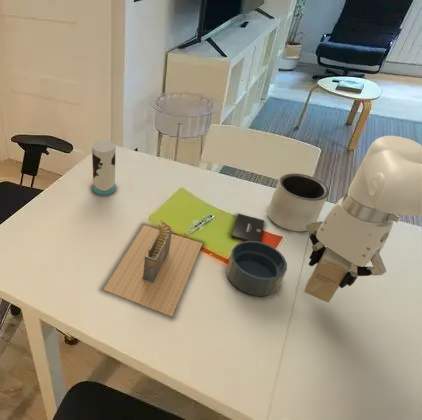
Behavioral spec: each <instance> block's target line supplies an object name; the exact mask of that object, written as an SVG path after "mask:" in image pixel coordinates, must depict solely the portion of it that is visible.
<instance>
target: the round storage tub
mask: <svg viewBox="0 0 422 420" xmlns="http://www.w3.org/2000/svg"><path fill="white" fill-rule="evenodd" d="M287 270H288V263H287V260H286V258H285V256H284V255H283V254H282V253H281V252H280V250H278V249H276V248H275V247H274V246H272V245H271V244H268V243H265V242H262V241H259V242H258V241H246V240H245V241H241V242H239V243H237V244H235V245H234V247H233V248H232V249H231V252H230V255H229V258H228V262H227V266H226V270H225V272H226V275H227V278H228V280H229V281H230V283H231V284H232V285H233V286H234V287H236V288H237V289H238V290H240V291H241V292H244V293H245V294H249V295H252V296H258V297H259V296H260V297H265V296H270V295H272V294H274V293H275V292H276V291H278V289H279V287H280V285H281V284H282V281H283V279H284V277H285V275H286V273H287Z"/></svg>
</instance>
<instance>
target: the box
mask: <svg viewBox="0 0 422 420" xmlns="http://www.w3.org/2000/svg"><path fill="white" fill-rule="evenodd" d="M325 247H326V246H325ZM315 265H316V266H315V267H314V269H313V271H312V272H311V274H310V276H309V278H308V279H307V282H306V285H305V288H304V290H303V291H304V293H305V294H307V295H309V296H312V297H314V298H316V299H318V300H320V301H323V302H326V303H330V301H331V299H332V298H333V297H334V295H335V293H336V292H337V290H338V289H339V288H340V287H339V284H340V283H341V281H342V279H343V278H344V276H345V275H346V273H347V272H349V271H350V261H348V260H346V259H345V258H343V257H342V256H340V255H339V254H337V253H336V252H334V251H332V250H331V249H329V248H328V247H326V249H325V251H324V253H323V254H322V256H321V258H320V260H319V262H318V263H317V264H315Z"/></svg>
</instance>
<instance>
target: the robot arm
mask: <svg viewBox="0 0 422 420" xmlns="http://www.w3.org/2000/svg"><path fill="white" fill-rule="evenodd" d="M349 185H350V186H349V187H348V189H347V191H346V193H345V195H344V196H343V197H341V198H340V199H339V200H337V202H336V203H335V204H334V205H333V206H332V208H331V209H330V210H329V212H328V213H327V215H326V216H325V217H324V219H323V221H316V223H310V224H309V225H307V226H306V228H307V230H306V231H307V233H308V234H309V239H310V242H311V244H312V246H311V249H312V252H311V254H310V256H309V259H310V260H309V262H308V266H309V267H314V266H315V265H317V263H318V262H319V260H320V258H321V256H322V254H323V253H324V251H325V249H326V247H328V248H329V249H331V250H332V251H334V252H336V253H337V254H339V255H340V256H342V257H343V258H345V259H346V260H348V261H350V270H349V272H347V273H346V275H345V276H344V278H343V279H342V281H341V283H340V284H339V287H338V288H341V289H343V288H345V287H346V286H348V287H351V286H352V285H353V284H354V283H355V282H356V280H357V279H358V277H369V276H382V275H384V274H385V273H387V268H386V266H385V264H384V261H383V259H382V256H381V254H380V253H381V252H382V250H383V248H384V247H385V244H386V242H387V241H388V238H389V236H390V233H391V231H392V228H393V226H394V225H393V224H394V222H395V223H399V222H400V220H401V219H402V218H403V216H411V217H412V216H414V217H416V216H417V217H422V144H420V143H419V142H417V141H415V140H413V139H410V138H406V137H403V136H398V135H384V136H379V137H378V138H376V139H374V141H372V143H371V144H370V145H369V147H368V150H367V151H366V153H365V155H364V157H363V159H362V161H361V163H360V165H359V166H358V169H357V171H356V173H355V175H354V178H353V179H352V181H351V183H350V184H349ZM370 262H371V265H372V266H366V265H367V264H368V263H370Z"/></svg>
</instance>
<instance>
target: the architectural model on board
mask: <svg viewBox="0 0 422 420" xmlns="http://www.w3.org/2000/svg"><path fill="white" fill-rule="evenodd" d="M157 227H158V228H154V227H151V226H149V225H146V224H143V226H142V227H141V229H140V231H139V232H138V233H137V235H136V237H135V238H134V240H133V242H132V243H131V245H130V246H129V248H128V250H126V253H125V254H124V256H123V258H122V259H121V261H120V262H119V264H118V266H117V267H116V269H115V270H114V272H113V274H112V276H111V277H110V278H109V280H108V282H107V283H106V285H105V286H104V288H103V291H106V292H107V293H108V292H109V293H111V294H113V295H115V296H118V297H121V298H123V299H126V300H129V301H131V302H134V303H136V304H138V305H141V306H144V307H146V308H149V309H151V310H154V311H156V312H159V313H161V314H163V315H164V314H165V315H167V316H169V317H173V316H174V314H175V311H176V308H177V306H178V304H179V301H180V299H181V296H182V294H183V291H184V290H185V286H186V284H187V282H188V279H189V277H190V275H191V273H192V270H193V267H194V265H195V263H196V260H197V258H198V255H199V253H200V250H201V248H202V246H203V243H202V242H200V241H197V240H193V239H190V238H187V237H184V236H181V235H177V234H175V233H173V229H172V226H170V225H169V224H167V223H165V222H164V221H163V220H162V219H161V220H160V223H159V224H157Z"/></svg>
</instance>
